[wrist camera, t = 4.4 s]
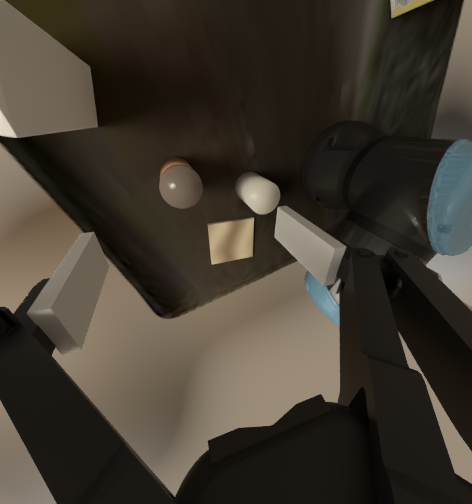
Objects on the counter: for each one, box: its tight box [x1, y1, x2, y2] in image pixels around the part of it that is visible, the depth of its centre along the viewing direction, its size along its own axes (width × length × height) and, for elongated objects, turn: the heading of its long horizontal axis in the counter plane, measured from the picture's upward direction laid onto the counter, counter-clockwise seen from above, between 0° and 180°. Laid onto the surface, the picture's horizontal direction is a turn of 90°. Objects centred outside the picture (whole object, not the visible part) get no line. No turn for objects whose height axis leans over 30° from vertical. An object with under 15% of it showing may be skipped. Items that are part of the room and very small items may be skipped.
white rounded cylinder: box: [235, 172, 280, 214], centre depth 34 cm, size 5×5×7 cm
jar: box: [159, 157, 203, 208], centre depth 28 cm, size 5×5×8 cm
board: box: [208, 217, 254, 264], centre depth 41 cm, size 9×9×1 cm
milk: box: [0, 0, 98, 138], centre depth 15 cm, size 6×6×22 cm
